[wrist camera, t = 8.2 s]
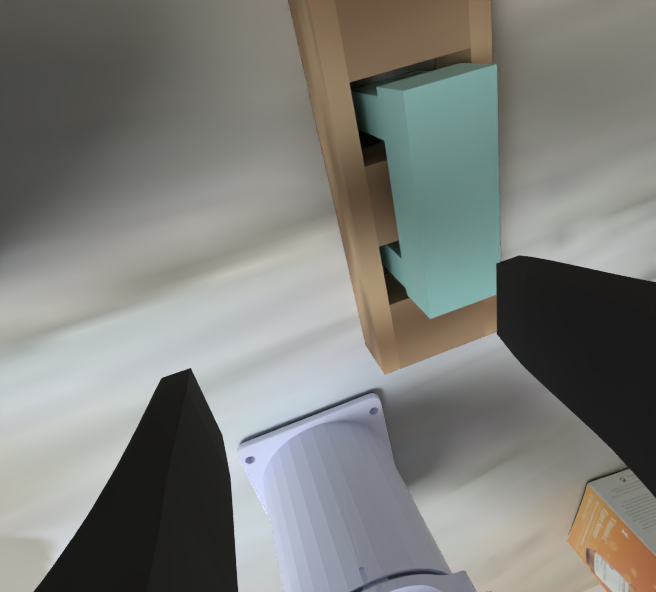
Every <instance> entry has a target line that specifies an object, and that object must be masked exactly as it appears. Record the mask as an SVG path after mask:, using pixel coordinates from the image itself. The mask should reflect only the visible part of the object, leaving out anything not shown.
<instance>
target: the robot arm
mask: <svg viewBox="0 0 656 592" xmlns="http://www.w3.org/2000/svg"><path fill="white" fill-rule="evenodd" d="M496 294H497V335H498V336H499V337H500V338H501V340H502V341H503V342H504V344H505V345H506V346H507V347H508V349H509V350H510V351H511V352H512V354H513V355H514V356H515V357H516V358H517V359H518V361H519V362H520V363H521V364H522V365H523V366H524V367H525V368H526V369H527V370H528V371H529V372H530V373H531V374H532V375H533V376H534V377H535V378H536V379H537V380H538V381H539V382H541V383H542V384H543V385H544V386H545V387H546V388H547V389H548V390H549V391H550V392H551V393H552V394H553V395H555V396H556V397H557V398H558V399H559V400H560V401H561V402H562V403H563V404H564V405H566V406H567V407H568V408H569V409H570V410H571V411H572V412H573V413H574V414H575V415H576V416H578V417H579V418H580V419H581V420H582V421H583V422H584V423H585V424H586V425H587V426H588V427H589V428H591V429H592V430H593V431H594V432H595V433H596V434H597V435H598V436H599V437H600V438H601V439H602V440H603V441H604V442H605V443H606V444H607V445H608V446H609V447H610V448H611V449H612V450H613V451H614V452H615V453H616V454H617V455H618V456H619V457H620V459H621V460H622V461H623V462H624V463H625V464H626V465H627V466H628V467H629V469H630V470H631V471H632V472H633V473H634V474H635V475H636V476H637V478H638V479H639V480H640V481H641V482H642V483H643V484H644V485H645V486H646V488H647V489H648V490H649V491H650V492H651V493H652V495H653V496H654V497H655V498H656V282H652V281H646V280H641V279H636V278H631V277H626V276H621V275H616V274H612V273H607V272H602V271H598V270H593V269H588V268H584V267H579V266H575V265H570V264H565V263H561V262H556V261H551V260H546V259H540V258H535V257H528V256H516V257H514V258H511V259H508V260H505V261H502V262H499V263H496ZM372 408H374V409H373V410H371V409H372ZM237 454H238V458H239V460H240V462H241V464H242V466H243V468H244V470H245V472H246V474H247V476H248V478H249V480H250V482H251V484H252V486H253V488H254V490H255V492H256V494H257V496H258V498H259V500H260V502H261V504H262V506H263V508H264V510H265V512H266V514H267V516H268V518H269V521H270V526H271V531H272V537H273V542H274V547H275V552H276V557H277V562H278V567H279V572H280V577H281V582H282V587H283V592H477V591H476V589H475V588H474V586H473V584H472V582H471V580H470V579H469V577H468V575H467V573H466V571H460V572H457V573H453V574H452V572H451V570H450V568H449V567H448V565H447V563H446V561H445V559H444V557H443V555H442V553H441V551H440V550H439V548H438V546H437V544H436V542H435V540H434V538H433V536H432V534H431V533H430V531H429V529H428V527H427V525H426V523H425V521H424V519H423V517H422V516H421V514H420V512H419V510H418V508H417V506H416V504H415V502H414V500H413V499H412V497H411V495H410V493H409V491H408V489H407V487H406V485H405V483H404V482H403V480H402V478H401V476H400V474H399V472H398V470H397V468H396V466H395V463H394V459H393V454H392V450H391V445H390V441H389V436H388V432H387V427H386V423H385V418H384V414H383V409H382V405H381V401H380V399H379V397H378V395H377V394H375V393H371V394H367V395H365V396H362V397H359V398H357V399H354V400H352V401H349V402H347V403H344V404H341V405H339V406H336V407H334V408H331V409H329V410H326V411H323V412H321V413H318V414H316V415H313V416H311V417H308V418H306V419H303V420H300V421H298V422H295V423H293V424H290V425H288V426H285V427H282V428H280V429H277V430H275V431H272V432H270V433H267V434H264V435H262V436H259V437H257V438H254V439H252V440H249V441H246V442H244V443H242V444H240V445H239V446H238V448H237ZM251 456H252V457H251ZM248 457H251V458H248ZM34 592H238V585H237V569H236V554H235V538H234V522H233V507H232V493H231V479H230V473H229V467H228V462H227V457H226V452H225V446H224V441H223V436H222V433H221V431H220V429H219V427H218V425H217V423H216V421H215V419H214V416H213V414H212V412H211V410H210V408H209V406H208V404H207V402H206V400H205V397H204V395H203V393H202V391H201V389H200V387H199V385H198V383H197V380H196V378H195V376H194V374H193V372H192V370H191V368H190V369H187V370H184V371H181V372H178V373H175V374H172V375H169V376H166V377H163V378H162V379H161V380H160V382H159V384H158V386H157V388H156V390H155V392H154V394H153V396H152V398H151V400H150V402H149V404H148V406H147V408H146V410H145V412H144V414H143V417H142V419H141V421H140V423H139V425H138V427H137V429H136V431H135V433H134V434H133V436H132V438H131V440H130V442H129V444H128V446H127V448H126V450H125V452H124V453H123V455H122V457H121V459H120V461H119V463H118V465H117V466H116V468H115V470H114V472H113V474H112V475H111V477H110V479H109V480H108V482H107V484H106V485H105V487H104V489H103V491H102V492H101V494H100V496H99V497H98V499H97V501H96V502H95V504H94V506H93V508H92V509H91V511H90V512H89V514H88V516H87V517H86V519H85V520H84V522H83V523H82V525H81V526H80V528H79V529H78V531H77V532H76V534H75V535H74V537H73V538H72V540H71V541H70V542H69V544H68V545H67V547H66V548H65V550H64V551H63V552H62V554H61V555H60V557H59V558H58V560H57V561H56V562H55V564H54V565H53V567H52V568H51V569H50V571H49V572H48V574H47V575H46V576H45V578H44V579H43V580H42V582H41V583H40V584H39V586H38V587H37V588H36V589H35V591H34ZM489 592H491V591H489Z"/></svg>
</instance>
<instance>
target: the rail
mask: <svg viewBox="0 0 656 592" xmlns="http://www.w3.org/2000/svg"><path fill="white" fill-rule="evenodd" d="M288 2H289V6H290V10H291V15H292V19H293V24H294V28H295V33H296V37H297V42H298V46H299V50H300V55H301V59H302V64H303V68H304V73H305V77H306V82H307V86H308V90H309V95H310V99H311V104H312V108H313V113H314V117H315V122H316V126H317V130H318V135H319V139H320V144H321V148H322V153H323V157H324V162H325V166H326V170H327V175H328V179H329V184H330V188H331V193H332V197H333V202H334V206H335V211H336V215H337V219H338V224H339V228H340V233H341V237H342V242H343V246H344V251H345V255H346V259H347V264H348V268H349V273H350V277H351V282H352V286H353V291H354V295H355V299H356V304H357V308H358V313H359V317H360V322H361V326H362V331H363V335H364V339H365V344H366V346H367V348H368V349H369V351H370V352H371V354H372V356H373V357H374V359H375V360H376V362H377V363H378V365H379V366H380V368H381V369H382V371H383V372H384V374H388V373H390V372H393V371H396V370H398V369H401V368H403V367H406V366H409V365H411V364H414V363H416V362H419V361H422V360H424V359H427V358H429V357H432V356H435V355H437V354H440V353H442V352H445V351H448V350H450V349H453V348H455V347H458V346H461V345H463V344H466V343H468V342H471V341H474V340H476V339H479V338H481V337H484V336H487V335H489V334H492V333H494V332H497V295H494V296H491V297H489V298H486V299H483V300H481V301H478V302H475V303H473V304H470V305H467V306H464V307H462V308H459V309H456V310H454V311H451V312H448V313H445V314H443V315H440V316H437V317H435V318H432V319H430V318H429V317H428V316H427V315H426V314H425V313H424V312H423V311H422V310H421V309H420V308H419V307H418V306H417V305H416V304H415V303H414V302H413V301H412V300H411V298H410V297H409V296H408V295H407V291H406V288H405V287H404V286H403V285H402V284H401V283H400V282H399V281H398V280H397V279H396V278H395V277H394V276H393V275H392V274H391V273H387V274H385V275H384V273H383V267H382V262H381V256H380V250H379V247H380V246H383V245H386V244H389V243H392V242H394V241H397V240H399V237H398V230H397V223H396V216H395V209H394V203H393V196H392V189H391V182H390V176H389V169H388V162H387V155H386V148H385V142H384V141H383V142H380V143H376V144H373V145H370V146H367V147H363V148H361V145H360V139H359V133H358V128H357V122H356V117H355V111H354V106H353V100H352V94H351V89H350V82H353V81H357V80H360V79H364V78H367V77H370V76H374V75H377V74H381V73H384V72H388V71H391V70H395V69H398V68H402V67H405V66H409V65H412V64H416V63H419V62H423V61H426V60H430V59H433V58H436V67H437V69H441V68H444V67H448V66H451V65H455V64H458V63H480V64H492V26H491V0H288Z"/></svg>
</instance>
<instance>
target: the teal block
mask: <svg viewBox="0 0 656 592" xmlns="http://www.w3.org/2000/svg"><path fill="white" fill-rule="evenodd" d="M351 94H352V100H353V106H354V111H355V117H356V122H357V128H358V130H361V131H363V132H365V133H368V134H370V135H373V136H375V137H377V138H380V139H382V140H384V142H385V148H386V155H387V162H388V169H389V176H390V182H391V189H392V196H393V203H394V209H395V216H396V223H397V230H398V237H399V240H397V241H394V242H392V243H389V244H386V245H383V246H380V247H379V250H380V256H381V262H382V265H383V266H384V267H385V268H386V269H387V270H388V271H389V272H390V273H391V274H392V275H393V276H394V277H395V278H396V279H397V280H398V281H399V282H400V283H401V284H402V285H403V286H404V287H405V288H406V291H407V295H408V296H409V297H410V298H411V300H412V301H413V302H414V303H415V304H416V305H417V306H418V307H419V308H420V309H421V310H422V311H423V312H424V313H425V314H426V315H427V316H428V317H429V318H430V319H432V318H435V317H437V316H440V315H443V314H445V313H448V312H451V311H454V310H456V309H459V308H462V307H464V306H467V305H470V304H473V303H475V302H478V301H481V300H483V299H486V298H489V297H491V296H494V295H497V294H496V263H499V262H500V206H499V150H498V94H497V64H480V63H458V64H455V65H451V66H448V67H444V68H441V69H437V70H434V71H428V70H418V71H415V72H411V73H407V74H404V75H400V76H397V77H393V78H390V79H386V80H383V81H379V82H376V83H372V84H369V85H365V86H362V87H358V88H355V89H351Z"/></svg>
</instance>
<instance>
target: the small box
mask: <svg viewBox="0 0 656 592" xmlns="http://www.w3.org/2000/svg"><path fill="white" fill-rule="evenodd" d="M567 541H568V543H569V544H570V545H571V547H572V548H573V549H574V550H575V552H576V553H577V554H578V555H579V557H580V558H581V559H582V560H583V562H584V563H585V564H586V566H587V567H588V568H589V569H590V571H591V572H592V573H593V574H594V576H595V577H596V578H597V579H598V581H599V582H600V583H601V585H602V586H603V587H604V588H605V589H606V591H607V592H656V498H655V497H654V496H653V495H652V493H651V492H650V491H649V490H648V489H647V488H646V486H645V485H644V484H643V483H642V482H641V481H640V480H639V479H638V478H637V476H636V475H635V474H634V473H633V472H632V471H631V470H630V469H627V470H624V471H621V472H618V473H615V474H612V475H609V476H606V477H603V478H601V479H598V480H595V481H592V482H589V483H588V484H587V486H586V490H585V493H584V497H583V500H582V502H581V505H580V508H579V511H578V513H577V516H576V518H575V521H574V524H573V526H572V529H571V531H570V533H569V535H568V538H567Z"/></svg>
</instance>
